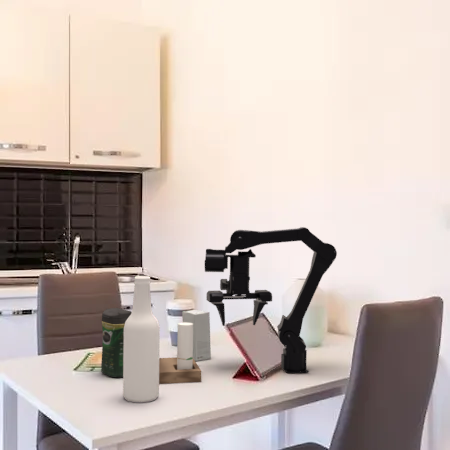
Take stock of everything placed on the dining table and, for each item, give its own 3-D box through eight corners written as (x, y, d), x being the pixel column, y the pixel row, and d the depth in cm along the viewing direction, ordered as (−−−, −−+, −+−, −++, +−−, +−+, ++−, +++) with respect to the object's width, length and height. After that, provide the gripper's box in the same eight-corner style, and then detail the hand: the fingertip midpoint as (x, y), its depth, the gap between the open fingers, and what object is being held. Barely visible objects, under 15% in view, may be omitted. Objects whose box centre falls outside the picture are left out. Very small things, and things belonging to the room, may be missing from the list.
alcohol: (128, 405, 139) (129, 278, 139) (119, 394, 147) (120, 275, 147) (163, 400, 143) (164, 277, 142) (153, 390, 151) (154, 274, 150)
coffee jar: (138, 375, 165) (139, 309, 165) (113, 380, 160) (114, 312, 160) (121, 368, 173) (121, 305, 172) (96, 372, 168) (97, 307, 167)
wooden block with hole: (192, 366, 175) (192, 356, 175) (201, 381, 159) (201, 370, 159) (145, 368, 172) (145, 358, 172) (149, 384, 156) (149, 373, 156)
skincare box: (211, 359, 185) (211, 312, 184) (194, 361, 181) (195, 313, 181) (197, 353, 192) (198, 308, 191) (181, 356, 188) (181, 310, 188)
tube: (177, 379, 161) (177, 325, 161) (176, 375, 165) (177, 322, 165) (192, 379, 162) (193, 325, 161) (192, 375, 166) (192, 322, 166)
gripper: (262, 269, 182) (261, 319, 182) (203, 270, 178) (202, 321, 179) (273, 273, 171) (272, 326, 172) (210, 273, 167) (209, 328, 168)
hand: (238, 325), depth 173 cm, fingers open, 9 cm apart
